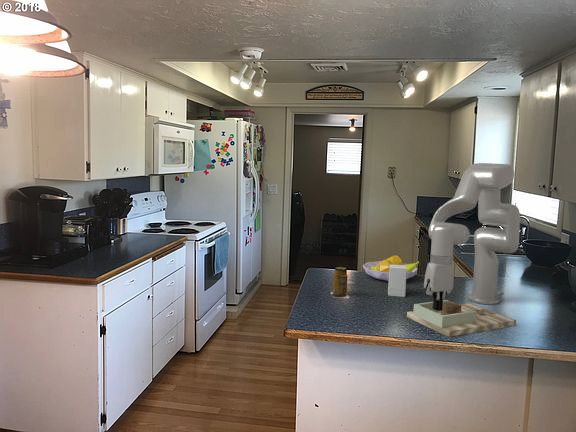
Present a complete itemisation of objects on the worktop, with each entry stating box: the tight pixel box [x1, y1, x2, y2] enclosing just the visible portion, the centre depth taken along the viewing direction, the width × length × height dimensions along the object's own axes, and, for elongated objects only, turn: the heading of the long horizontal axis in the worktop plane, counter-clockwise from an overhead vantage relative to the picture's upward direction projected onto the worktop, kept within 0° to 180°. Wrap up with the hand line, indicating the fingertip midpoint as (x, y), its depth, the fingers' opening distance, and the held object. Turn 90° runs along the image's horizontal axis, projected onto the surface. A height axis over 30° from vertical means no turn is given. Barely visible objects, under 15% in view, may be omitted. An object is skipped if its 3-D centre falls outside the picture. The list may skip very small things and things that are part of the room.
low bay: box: [412, 299, 477, 328], centre depth 177 cm, size 16×15×4 cm
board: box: [406, 302, 517, 338], centre depth 181 cm, size 32×22×2 cm
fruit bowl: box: [362, 254, 420, 282], centre depth 243 cm, size 28×27×11 cm
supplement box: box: [387, 265, 407, 298], centre depth 215 cm, size 7×7×13 cm
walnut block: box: [441, 301, 462, 315], centre depth 179 cm, size 5×5×5 cm
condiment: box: [330, 266, 350, 299], centre depth 210 cm, size 7×8×12 cm
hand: (437, 309), depth 176 cm, fingers closed
